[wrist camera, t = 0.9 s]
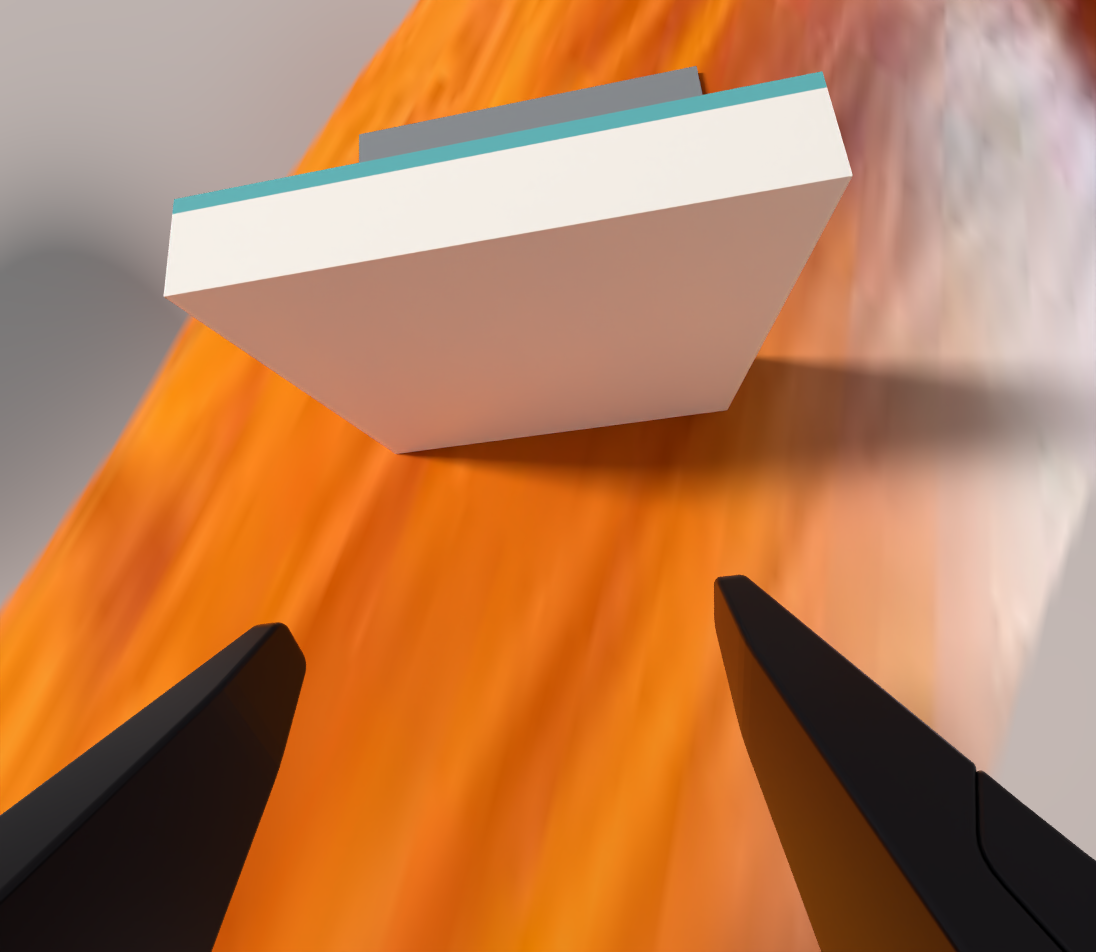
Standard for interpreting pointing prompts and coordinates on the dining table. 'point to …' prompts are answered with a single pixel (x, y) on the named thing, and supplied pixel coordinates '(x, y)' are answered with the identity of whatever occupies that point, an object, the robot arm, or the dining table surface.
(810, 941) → the dining table surface
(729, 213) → the tile
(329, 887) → the dining table surface
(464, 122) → the slate mat
